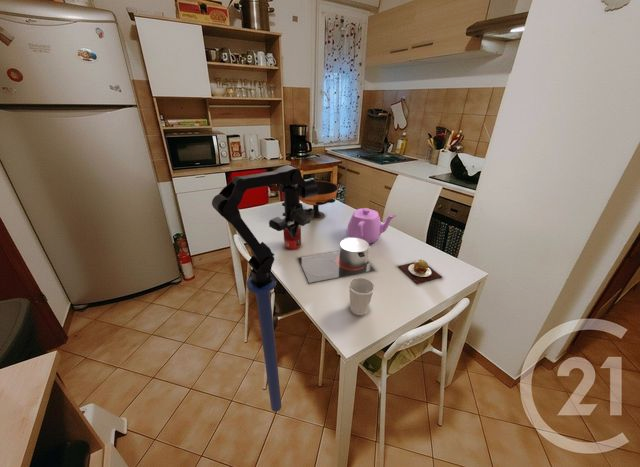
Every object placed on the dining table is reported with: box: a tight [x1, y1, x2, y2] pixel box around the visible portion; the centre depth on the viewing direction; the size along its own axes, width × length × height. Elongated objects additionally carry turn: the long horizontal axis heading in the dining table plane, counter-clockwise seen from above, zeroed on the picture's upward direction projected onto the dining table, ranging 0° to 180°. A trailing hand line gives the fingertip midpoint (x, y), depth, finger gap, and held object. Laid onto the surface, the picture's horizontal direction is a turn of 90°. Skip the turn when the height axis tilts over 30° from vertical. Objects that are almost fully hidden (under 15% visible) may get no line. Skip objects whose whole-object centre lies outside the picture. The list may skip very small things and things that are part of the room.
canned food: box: [282, 225, 302, 251], centre depth 122 cm, size 8×8×11 cm
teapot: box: [346, 207, 397, 244], centre depth 127 cm, size 23×21×15 cm
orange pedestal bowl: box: [296, 180, 339, 220], centre depth 151 cm, size 36×26×18 cm
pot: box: [339, 236, 370, 269], centre depth 111 cm, size 12×15×8 cm
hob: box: [297, 250, 376, 284], centre depth 111 cm, size 28×18×1 cm, turn 108°
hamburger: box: [397, 259, 443, 285], centre depth 105 cm, size 12×12×6 cm
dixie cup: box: [347, 277, 376, 316], centre depth 85 cm, size 8×8×10 cm
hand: (293, 237), depth 104 cm, fingers closed
